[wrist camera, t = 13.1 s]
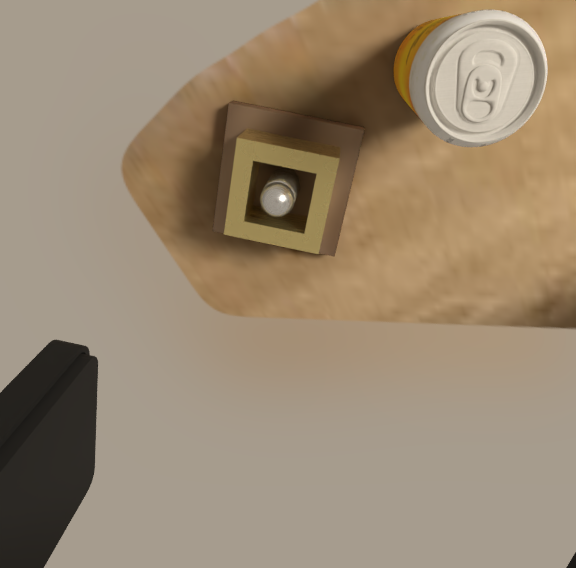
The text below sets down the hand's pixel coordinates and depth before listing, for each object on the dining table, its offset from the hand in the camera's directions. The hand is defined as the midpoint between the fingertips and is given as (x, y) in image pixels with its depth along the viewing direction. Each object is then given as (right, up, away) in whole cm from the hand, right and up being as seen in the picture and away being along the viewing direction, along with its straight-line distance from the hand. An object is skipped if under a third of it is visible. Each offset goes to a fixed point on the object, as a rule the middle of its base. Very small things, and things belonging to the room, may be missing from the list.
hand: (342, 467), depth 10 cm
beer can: (+10, +19, +29) cm, 35 cm away
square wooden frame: (-1, +11, +31) cm, 33 cm away
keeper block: (-1, +11, +33) cm, 35 cm away
